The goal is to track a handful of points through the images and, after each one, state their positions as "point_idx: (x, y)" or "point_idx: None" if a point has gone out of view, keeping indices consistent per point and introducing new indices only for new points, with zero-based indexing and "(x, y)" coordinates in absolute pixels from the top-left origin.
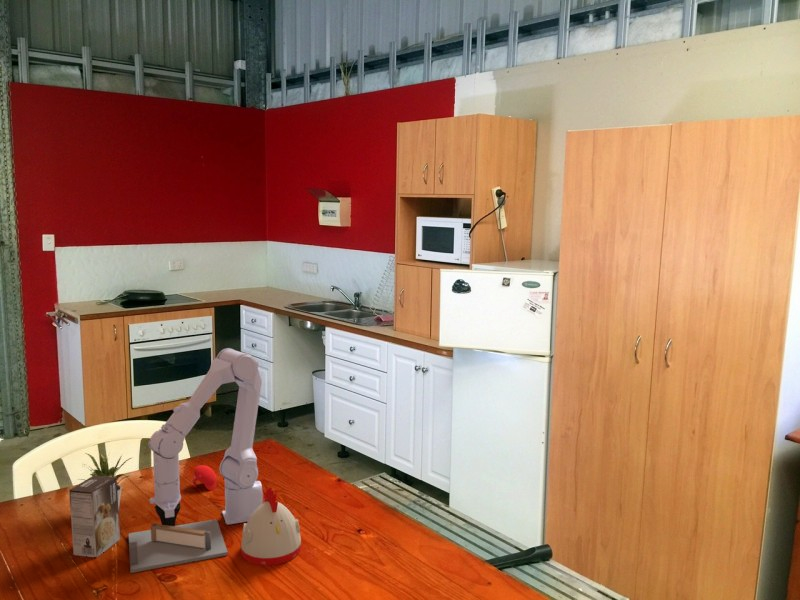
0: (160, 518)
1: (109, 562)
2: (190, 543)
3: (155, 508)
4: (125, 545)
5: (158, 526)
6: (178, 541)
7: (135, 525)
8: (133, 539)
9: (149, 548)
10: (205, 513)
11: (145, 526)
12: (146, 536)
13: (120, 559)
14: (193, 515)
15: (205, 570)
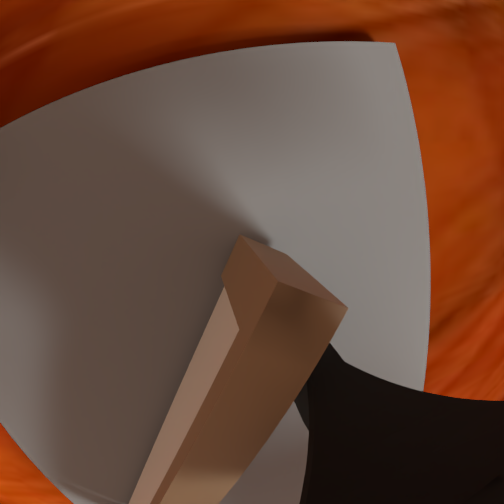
0: (306, 463)
1: (31, 9)
2: (140, 488)
3: (476, 501)
4: (257, 32)
5: (240, 385)
6: (159, 444)
7: (484, 95)
8: (300, 74)
9: (118, 242)
10: (480, 392)
11: (474, 147)
12: (338, 171)
13: (46, 56)
14: (488, 356)
15: (10, 483)
